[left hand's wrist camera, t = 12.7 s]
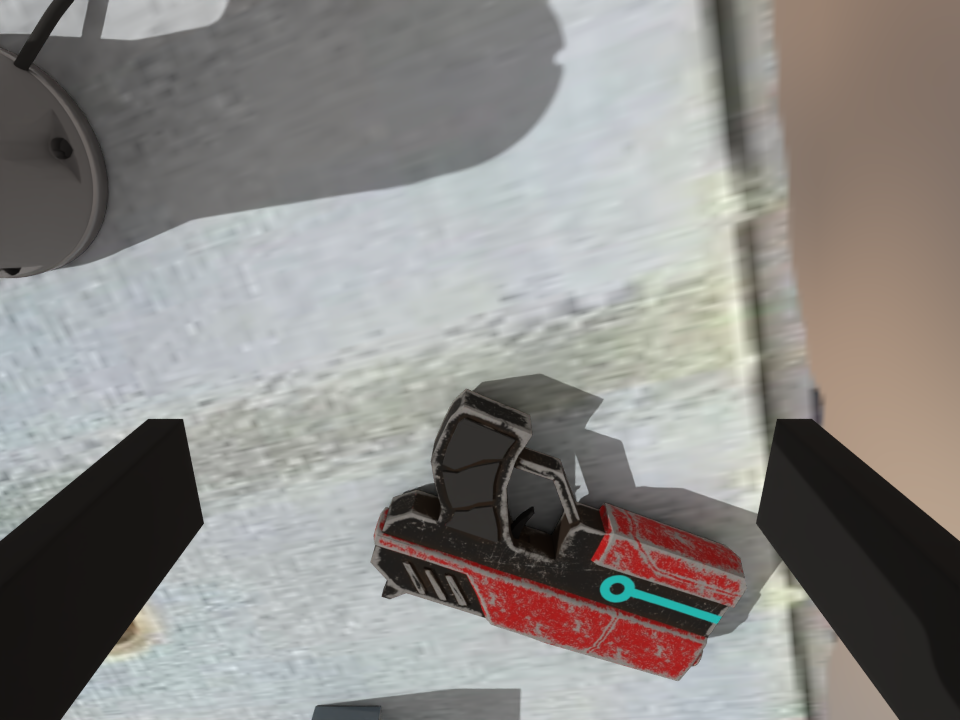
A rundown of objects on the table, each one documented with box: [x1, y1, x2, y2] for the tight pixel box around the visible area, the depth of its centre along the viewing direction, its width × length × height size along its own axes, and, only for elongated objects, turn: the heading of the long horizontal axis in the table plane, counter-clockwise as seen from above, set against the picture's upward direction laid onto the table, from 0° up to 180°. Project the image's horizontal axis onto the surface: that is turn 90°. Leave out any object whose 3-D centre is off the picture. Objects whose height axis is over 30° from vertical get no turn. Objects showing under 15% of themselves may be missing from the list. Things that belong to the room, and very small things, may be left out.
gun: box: [371, 389, 747, 681], centre depth 48 cm, size 4×31×19 cm
